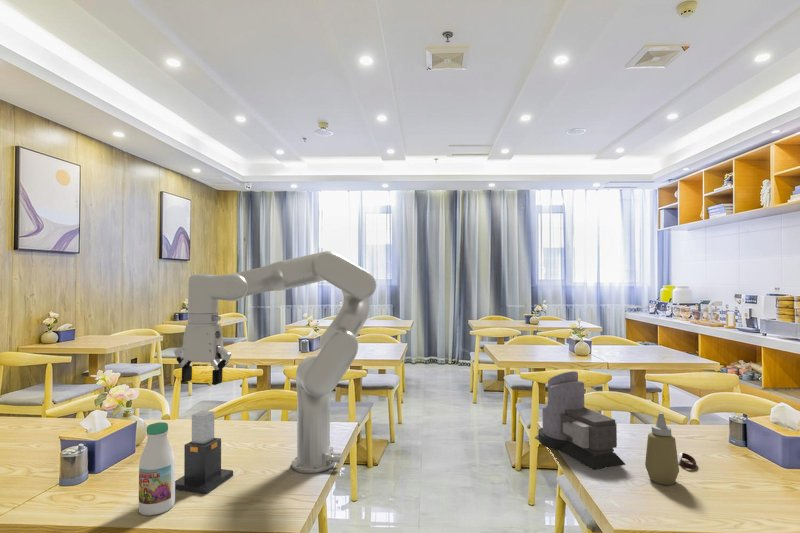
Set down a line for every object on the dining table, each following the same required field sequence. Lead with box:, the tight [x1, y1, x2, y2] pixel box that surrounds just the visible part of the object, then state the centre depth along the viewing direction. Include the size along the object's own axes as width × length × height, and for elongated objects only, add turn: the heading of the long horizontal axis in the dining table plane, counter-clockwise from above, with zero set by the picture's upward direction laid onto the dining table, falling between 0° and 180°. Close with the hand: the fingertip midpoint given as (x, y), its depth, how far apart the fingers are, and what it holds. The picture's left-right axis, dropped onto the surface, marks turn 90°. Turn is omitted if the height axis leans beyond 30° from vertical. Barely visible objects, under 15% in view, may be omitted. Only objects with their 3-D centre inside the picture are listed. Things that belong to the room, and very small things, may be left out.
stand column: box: [191, 410, 215, 446], centre depth 123 cm, size 4×4×17 cm
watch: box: [677, 451, 697, 470], centre depth 132 cm, size 8×5×4 cm, turn 149°
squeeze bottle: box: [644, 412, 680, 486], centre depth 122 cm, size 8×8×18 cm
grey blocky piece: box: [534, 370, 627, 471], centre depth 145 cm, size 30×16×24 cm, turn 18°
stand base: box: [175, 437, 234, 495], centre depth 122 cm, size 11×11×11 cm
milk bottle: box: [138, 421, 176, 516], centre depth 109 cm, size 8×8×20 cm
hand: (201, 382), depth 123 cm, fingers open, 9 cm apart
